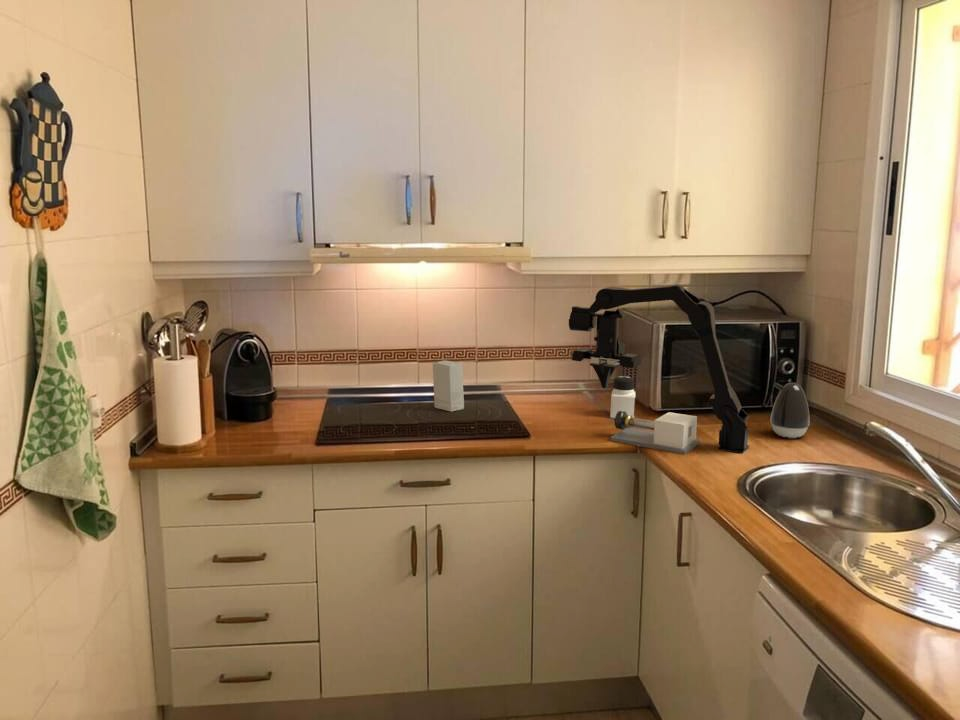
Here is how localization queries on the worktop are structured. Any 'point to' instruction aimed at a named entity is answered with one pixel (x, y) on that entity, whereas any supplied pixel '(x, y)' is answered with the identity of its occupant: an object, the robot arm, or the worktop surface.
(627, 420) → the metal shaft
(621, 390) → the medicine bottle
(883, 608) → the worktop surface
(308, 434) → the worktop surface
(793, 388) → the dark grey egg shape
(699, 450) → the worktop surface
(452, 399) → the skincare box
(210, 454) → the worktop surface
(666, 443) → the bearing block
